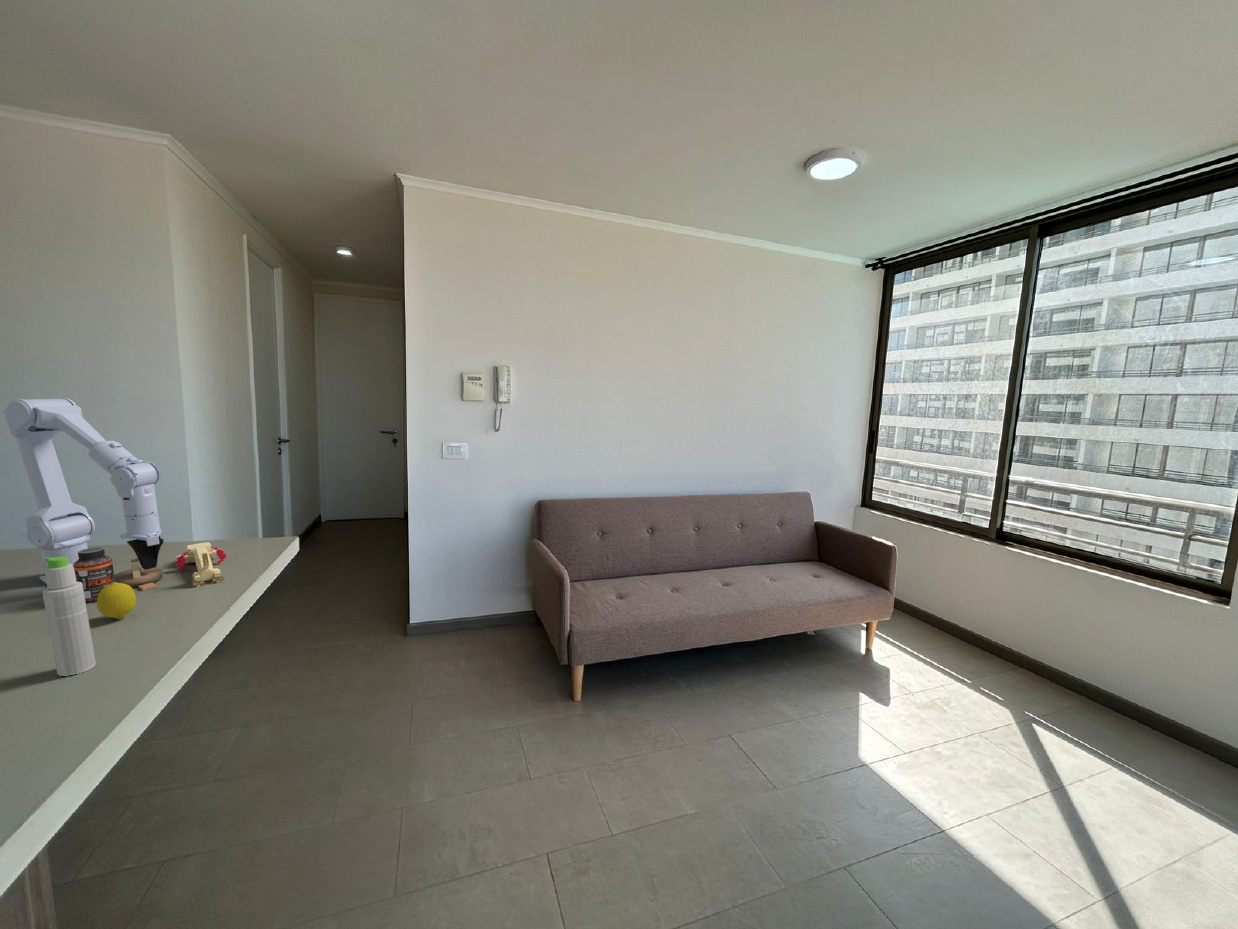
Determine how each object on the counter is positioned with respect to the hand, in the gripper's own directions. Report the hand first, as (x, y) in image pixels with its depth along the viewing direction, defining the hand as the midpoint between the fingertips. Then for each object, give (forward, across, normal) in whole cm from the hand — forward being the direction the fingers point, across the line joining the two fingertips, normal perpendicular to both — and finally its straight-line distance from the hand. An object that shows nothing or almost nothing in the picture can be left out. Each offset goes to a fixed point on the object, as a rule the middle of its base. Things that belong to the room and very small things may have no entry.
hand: (149, 567), depth 116 cm
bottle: (+4, +37, -17) cm, 41 cm away
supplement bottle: (+4, +1, -9) cm, 10 cm away
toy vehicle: (+4, -1, +10) cm, 11 cm away
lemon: (+4, +18, -9) cm, 21 cm away
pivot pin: (+1, -3, -2) cm, 4 cm away
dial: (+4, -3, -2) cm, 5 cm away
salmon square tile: (+4, +3, -1) cm, 5 cm away
